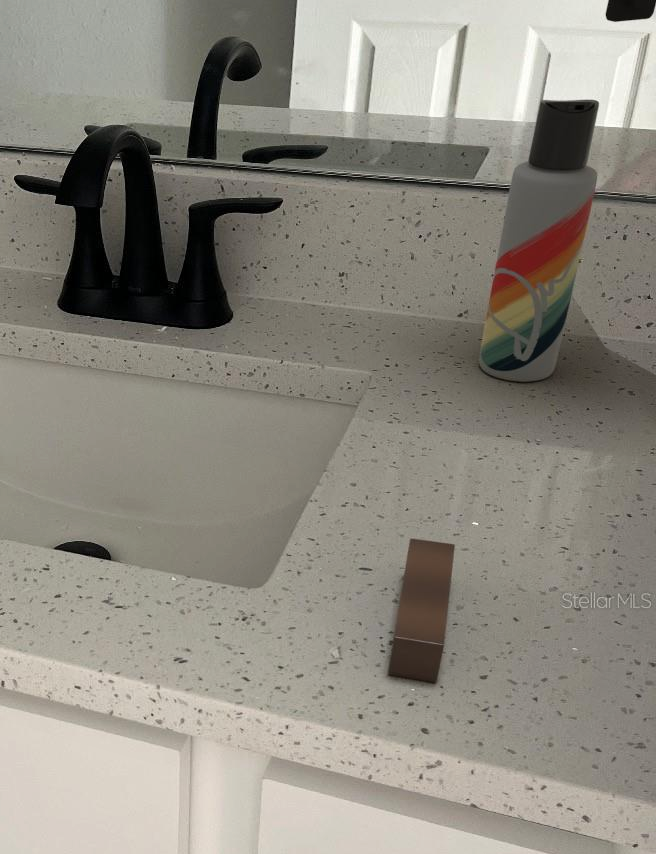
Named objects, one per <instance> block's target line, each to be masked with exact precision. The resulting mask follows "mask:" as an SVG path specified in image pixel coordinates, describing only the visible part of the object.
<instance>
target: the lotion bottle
mask: <svg viewBox="0 0 656 854" xmlns="http://www.w3.org/2000/svg"><path fill="white" fill-rule="evenodd" d="M599 107H600V102H599V101H598V100H596V99H569V100H555V99H554V100H553V99H552V100H551V99H541V100H540V101H539V106H538V110H537V117H536V121H535V126H534V130H533V136H532V140H531V145H530V150H529V155H528V160H527V161H524V162H520V163H519V164H517V165H516V166H515V168H514V169H513V172H512V176H511V181H510V186H509V191H508V197H507V200H506V201H507V202H506V207H505V212H504V218H503V223H502V228H501V229H502V230H501V235H500V240H499V244H498V251H497V256H496V260H495V261H496V262H495V267H494V272H493V276H492V277H493V278H492V282H491V283H492V284H491V287H490V288H491V289H490V294H489V299H488V305H487V311H486V316H485V322H484V327H483V332H482V338H481V343H480V349H479V357H478V364H479V367H480V368H481V370H482V371H483V372H485V373H486V374H487V375H490V376H492V377H495V378H497V379H502V380H505V381H511V382H522V383H523V382H527V383H528V382H537V381H541V380H544V379H546V378H548V377H550V376H551V375H552V374H553V372H554V371H555V369H556V365H557V360H558V357H559V352H560V348H561V344H562V339H563V335H564V331H565V328H566V327H565V326H566V322H567V321H566V320H567V318H568V313H569V308H570V305H571V304H570V303H571V299H572V295H573V291H574V287H575V286H574V285H575V281H576V277H577V273H578V268H579V264H580V259H581V256H582V255H581V254H582V251H583V246H584V241H585V237H586V232H587V228H588V224H589V219H590V215H591V210H592V207H593V202H594V198H595V197H594V196H595V192H596V188H597V187H596V186H597V182H598V172H597V170H596V169H595V168H593V167H592V166H590V165H588V162H589V157H590V152H591V147H592V143H593V138H594V132H595V128H596V124H597V123H596V122H597V117H598V112H599Z"/></svg>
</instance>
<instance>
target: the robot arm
mask: <svg viewBox="0 0 656 854" xmlns="http://www.w3.org/2000/svg"><path fill="white" fill-rule="evenodd" d="M655 9H656V0H607V4H606V11H605V19H606V20H607V21H609V22H612V23H619V22H620V23H621V22H629V21H640V20H648V19H650V18H652V17H653V15H654V13H655Z"/></svg>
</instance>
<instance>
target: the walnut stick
mask: <svg viewBox="0 0 656 854" xmlns="http://www.w3.org/2000/svg"><path fill="white" fill-rule="evenodd" d="M455 546H456V545H455V544H454V543H449V542H440V541H433V540H427V539H420V538H412V537H411V538H410V539H409V543H408V549H407V554H406V560H405V561H406V562H405V568H404V574H403V579H402V585H401V591H400V597H399V604H398V608H397V615H396V620H395V621H396V622H395V628H394V633H393V639H392V645H391V651H390V656H389V657H390V658H389V664H388V669H387V675H389V676H392V677H393V676H394V677H399V678H407V679H412V680H417V681H424V682H430V683H437V682H438V678H439V673H440V667H441V663H442V658H443V652H444V647H445V639H446V629H447V623H448V622H447V621H448V612H449V603H450V593H451V584H452V576H453V575H452V574H453V566H454V558H455V549H456V547H455Z"/></svg>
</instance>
